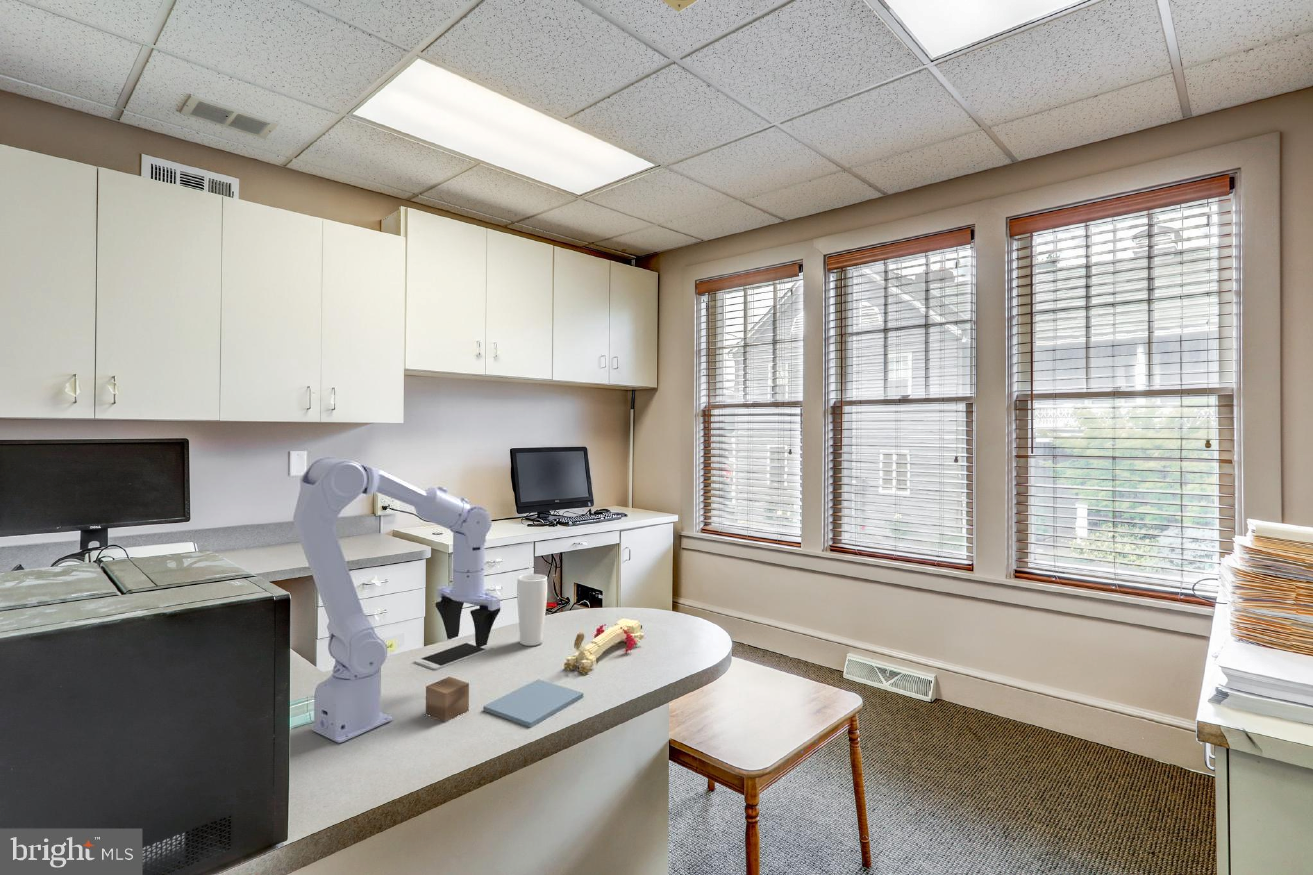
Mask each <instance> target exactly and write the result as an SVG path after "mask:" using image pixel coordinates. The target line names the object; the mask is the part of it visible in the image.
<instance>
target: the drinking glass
mask: <svg viewBox="0 0 1313 875" xmlns="http://www.w3.org/2000/svg"><path fill="white" fill-rule="evenodd" d="M516 582H517V583H516V599H517V600H516V601H517V602H516V603H517V613H518V626H519V627H518V629H519V643H520V644H521V645H522V646H525V647H526V646H527V647H533V646H538V645H541V644H542V643H543V642H544V638H545V637H544V636H545V635H544V634H545V633H544V631H545V630H544V629H545V619H546V610H547V601H548V576H547V575H545V574H540V573H527V574H522V575H518V577H517V580H516Z"/></svg>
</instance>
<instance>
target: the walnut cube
mask: <svg viewBox="0 0 1313 875" xmlns="http://www.w3.org/2000/svg"><path fill="white" fill-rule="evenodd" d="M469 699H470V683H469V682H467V681H464V680H460V679H458V678H454V677H452V676H448V677H445V678H443V679H440V680H438V681H436V682H433V683H430V684H428V685H426V686H425V715H426V714H427V715H426V716H428V715H430V716H431V717H430V716H429V717H430V718H433V717H434V718H433V719H435V718H437V719H436V720H438V719H439V721H440V720H442V721H441V722H443V721H444V722H443V723H448V722H449V720H450V721H451V719H452V720H453V719H455V717H456V718H457V716H458V715H460V716H462V715H463V713H464V714H465V713H467V711H468V712H469V711H470V709H469V708H470V706H469V705H470V704H469V703H470V700H469ZM461 714H462V715H461ZM458 717H459V716H458Z"/></svg>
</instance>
